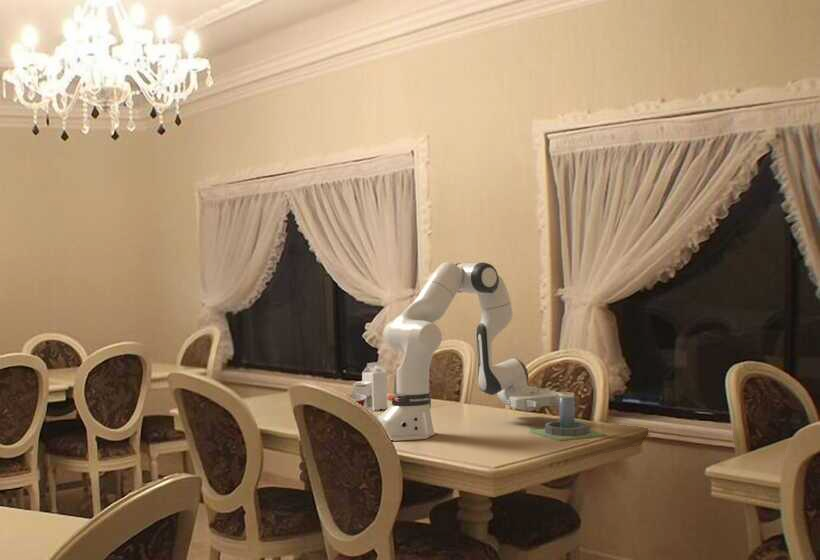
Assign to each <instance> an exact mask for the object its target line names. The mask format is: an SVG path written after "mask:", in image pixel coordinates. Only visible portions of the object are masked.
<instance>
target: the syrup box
mask: <svg viewBox="0 0 820 560" xmlns="http://www.w3.org/2000/svg"><path fill="white" fill-rule="evenodd" d="M352 394H361V395H365V396H366V399H365V402H364V405H363V406H364V407H366V408H367V409H368V410H370V411H371V412H372V413H373V411H372V382H368V381H362V380H361V381H357V382H356V381H355V382H353V384H352Z"/></svg>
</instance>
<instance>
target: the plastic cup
mask: <svg viewBox="0 0 820 560" xmlns="http://www.w3.org/2000/svg"><path fill="white" fill-rule="evenodd" d="M345 394H346V395H347V396H349V397H350V398H352V399H354V400H355V401H356V402H358V403H359V404H361V405H362V406H363V405H364V402H365V399H366V396H365V395H361V394H353V393H345Z"/></svg>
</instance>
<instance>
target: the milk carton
mask: <svg viewBox="0 0 820 560" xmlns="http://www.w3.org/2000/svg"><path fill="white" fill-rule="evenodd" d="M381 362H382V361H376V362H375V361H374V362H369V363H368V362H367V363H366V366H365V367H364V369H363V371H362V372H361V378H362V379H361V381H368V382H372V410H373V411H372V412H375V410H376V411H381V410H380V409H382V410H387V409H388V400H387V398H386V397H387V396H388V392H387V391H388V388H387V387H388V382H387V371H386V369H385V368H384V367H383V365H382V363H381Z"/></svg>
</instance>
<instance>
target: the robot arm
mask: <svg viewBox="0 0 820 560" xmlns="http://www.w3.org/2000/svg"><path fill="white" fill-rule="evenodd" d="M458 293H466V294H476V295H477V296H478V301H479V306H480V314H481V316H480V323H479V324H478V326H477V327H476V350H477V351H476V352H477V365H478V368H477V383H478V387H479V389H480V390H481V392H484V393H485V394H488V395H489V396H494V395H496V394H497V398H498V400H499V401H500V402H502V404H504V405H505V406H509V407H511V408H512V409H513V408H514V409H517V410H523V411H526V412H533V411H535V410H537V409H540V408H544V407H548V406H549V407H550V406H559V393H560V392H559V391H556V390H551V389H550V388H549V387H535V386H529V373H528V369H527V367H526V365H525V364H524V363H523V362H522V361H521V360H520V359H518V358H515V357H512V358H509V359H507V360H504V361H502V362H499V363H496V364H493V355H492V354H493V353H492V343H493V341H494V340H495V338H496V337H497V336H498V335H499V334H500V333H501V332H502V331H503V330H504V329H506V328H507V327H508V325H509V324H510V323H511V320H512V318H513V307H512V302H511V299H510V294H509V292H508V289H507V286H506V283H505V281H504V280H503V278H502V277H501V276H500V275H499V274H498V272H497V269H496V268H495V266H493V264H491V263H488V262H484V261H483V262H475V261H474V262H472V261H469V262H461V263H459V262H457V263H453V262H451V261H450V262H449V261H446V262H443V263H441V264H439V266H438V267H437V268H435V270H434V271H433V272H432V274H431V275H430V276H429V278H428V279H427V280H426V281H425V284H424V285H423V287H422V288H421V290H420V291H419V293H418V295H417V296H416V298H414V300H413V301H412V302H411V303H410V305H408V306H407V308H406V309H404V311H402V312H401V313H400V315H398V316H397V317H396V318H394V319H393V320H391V321H390V322H388V323H387V324H386V325H385V326H384V328H383V332H382V338H383V342H384V343H385V345H386V346H387V347H388V348H390V349H392V350H395V351H399V352H404V354H403V359H402V362H401V364H400V365H399V367H397V369H396V372H395V374H396V375H395V376H396V393H395V394H388V393H387V397H386V398H387V401H390V402H391V405H390V406H389V407H387V409H384V410H385V411H383V412H382V413H381V414H380V415H379V416H377V418H378V420H379V421H380V422H381V423H382V425H383V426H384V427H385V429H386V430H387V432H388V434H389V435H390V437H391V439H392V440H393V441H392V442H395V441H396V442H397V441H398V442H400V441H411V440H427V439H429V437H431V436H434V435H435V434H436V433H435V430H434V426H433V420H432V414H431V407H432V400H431V399H432V397H431V392H430V368H431V367H430V366H431V362H432V359H433V356H434V354H435V352H436V350H437V349H438V348H439V347H440V346H441V343H442V340H443V336H442V332H441V329H440V327H439V326H438V325H437V324H435V323H436V321H439V320H440V319H441V318H442V317H443V316H444V315H445V313H446V312H447V310H448V308H449V306H450V305H451V304H452V301H454V299H455V296H456V295H457V294H458Z"/></svg>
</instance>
